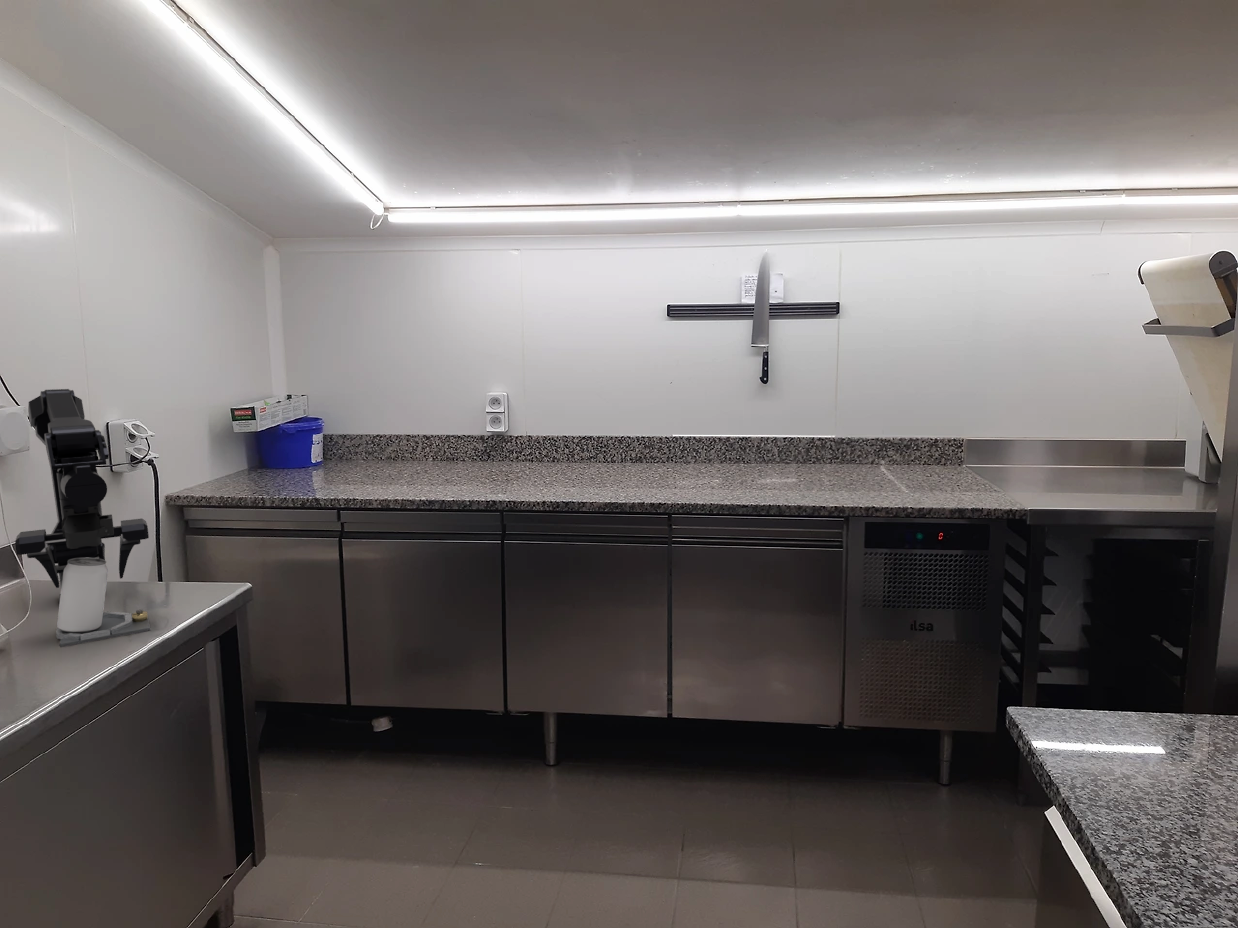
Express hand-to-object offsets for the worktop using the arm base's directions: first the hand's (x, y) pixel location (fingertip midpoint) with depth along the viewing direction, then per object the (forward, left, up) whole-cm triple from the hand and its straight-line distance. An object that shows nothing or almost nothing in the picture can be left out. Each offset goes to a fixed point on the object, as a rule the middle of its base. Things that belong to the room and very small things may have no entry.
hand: (90, 582), depth 132 cm
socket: (0, 0, -9) cm, 9 cm away
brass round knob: (0, +7, -9) cm, 11 cm away
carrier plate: (0, +2, -9) cm, 9 cm away
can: (0, -2, -8) cm, 8 cm away
